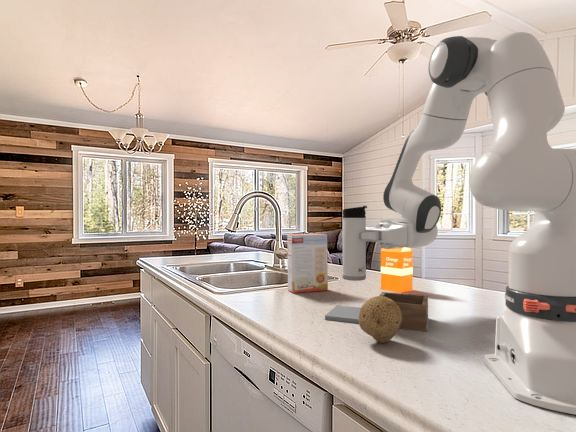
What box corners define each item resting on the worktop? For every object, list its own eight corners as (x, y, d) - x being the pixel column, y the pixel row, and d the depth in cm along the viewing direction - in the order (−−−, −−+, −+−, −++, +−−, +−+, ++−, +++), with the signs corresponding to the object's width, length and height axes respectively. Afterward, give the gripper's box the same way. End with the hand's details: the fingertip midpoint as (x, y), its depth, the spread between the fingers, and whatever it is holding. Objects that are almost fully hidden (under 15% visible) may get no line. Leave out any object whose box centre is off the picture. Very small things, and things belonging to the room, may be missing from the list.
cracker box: (321, 287, 136) (321, 233, 136) (328, 291, 130) (328, 234, 130) (286, 290, 131) (286, 233, 132) (292, 293, 126) (292, 234, 126)
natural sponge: (380, 353, 70) (380, 303, 70) (349, 340, 78) (349, 294, 78) (410, 344, 75) (410, 297, 75) (379, 333, 83) (379, 290, 83)
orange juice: (392, 286, 139) (392, 235, 139) (412, 290, 132) (412, 236, 132) (380, 289, 134) (380, 235, 134) (401, 292, 127) (401, 237, 127)
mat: (366, 324, 89) (366, 320, 89) (324, 319, 94) (324, 315, 94) (374, 312, 100) (374, 309, 100) (337, 308, 105) (337, 305, 105)
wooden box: (426, 331, 84) (426, 306, 84) (374, 325, 89) (374, 301, 89) (427, 318, 95) (427, 295, 95) (382, 313, 100) (382, 291, 100)
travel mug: (367, 281, 93) (367, 205, 93) (341, 280, 95) (341, 205, 95) (367, 277, 99) (367, 205, 99) (343, 276, 101) (343, 206, 101)
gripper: (366, 222, 112) (330, 223, 106) (417, 223, 94) (376, 224, 88) (366, 242, 112) (330, 244, 106) (417, 247, 94) (376, 249, 88)
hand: (351, 235), depth 97 cm, fingers closed on travel mug, 6 cm apart
